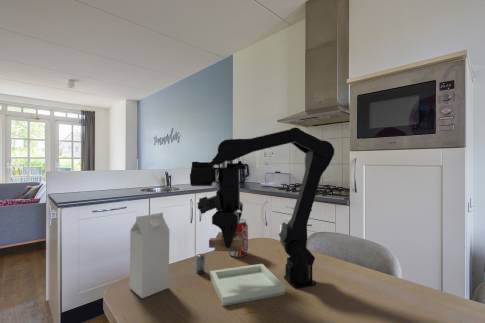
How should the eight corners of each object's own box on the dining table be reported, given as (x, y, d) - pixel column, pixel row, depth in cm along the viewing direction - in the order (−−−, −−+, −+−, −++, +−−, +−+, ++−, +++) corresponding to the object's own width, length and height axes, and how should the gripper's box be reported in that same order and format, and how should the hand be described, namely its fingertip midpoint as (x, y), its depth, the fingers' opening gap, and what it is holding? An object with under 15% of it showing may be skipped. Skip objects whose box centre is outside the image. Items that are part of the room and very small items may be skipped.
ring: (243, 242, 69) (243, 232, 69) (241, 251, 62) (241, 239, 62) (212, 242, 70) (212, 231, 70) (207, 251, 63) (206, 239, 63)
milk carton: (129, 288, 62) (130, 214, 62) (155, 279, 67) (156, 210, 67) (141, 299, 57) (142, 219, 57) (168, 288, 62) (169, 214, 62)
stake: (203, 270, 73) (203, 253, 73) (205, 273, 71) (205, 256, 71) (195, 271, 72) (195, 254, 72) (197, 274, 70) (197, 257, 70)
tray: (262, 270, 73) (262, 263, 73) (285, 294, 60) (285, 286, 60) (210, 278, 68) (210, 271, 68) (222, 306, 54) (222, 297, 54)
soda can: (239, 259, 81) (239, 224, 81) (223, 254, 85) (224, 220, 85) (251, 253, 86) (252, 220, 86) (236, 249, 91) (236, 217, 91)
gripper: (207, 183, 76) (208, 232, 76) (190, 189, 57) (191, 255, 57) (242, 183, 75) (243, 233, 75) (237, 189, 56) (237, 256, 56)
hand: (229, 242), depth 66 cm, fingers closed on ring, 7 cm apart
